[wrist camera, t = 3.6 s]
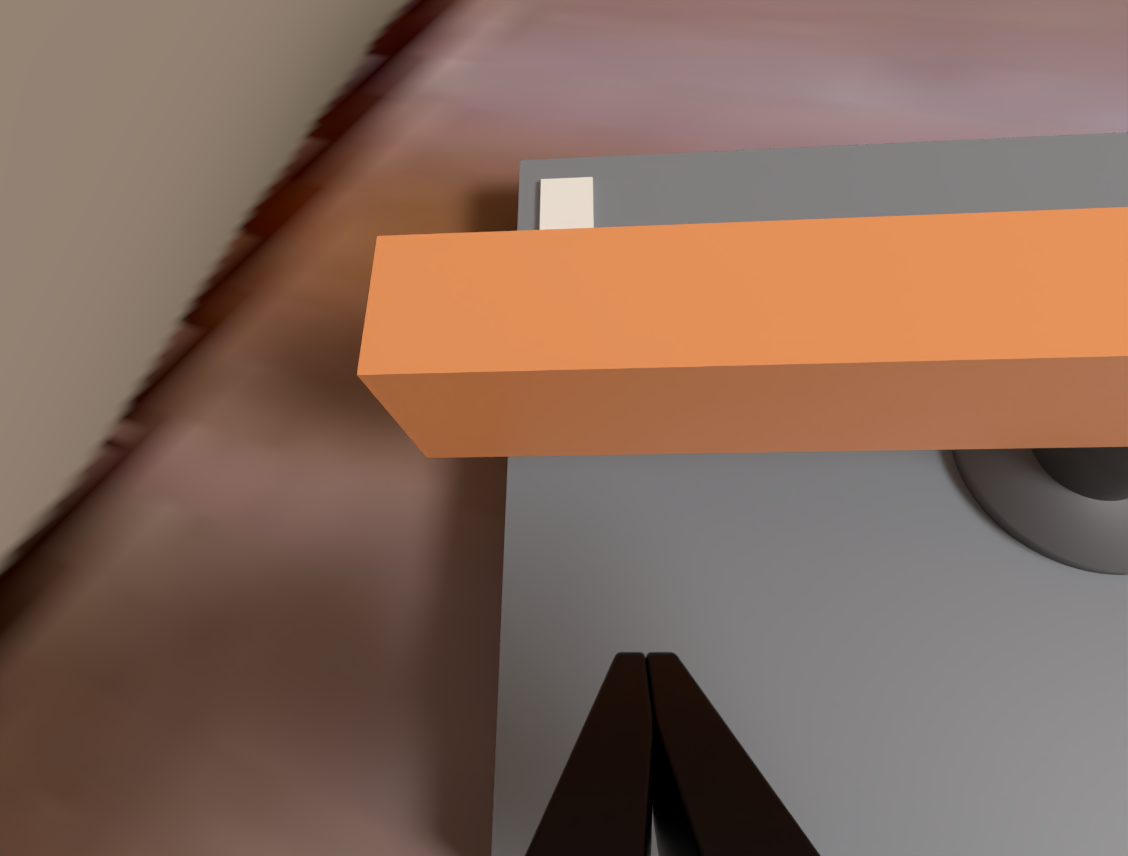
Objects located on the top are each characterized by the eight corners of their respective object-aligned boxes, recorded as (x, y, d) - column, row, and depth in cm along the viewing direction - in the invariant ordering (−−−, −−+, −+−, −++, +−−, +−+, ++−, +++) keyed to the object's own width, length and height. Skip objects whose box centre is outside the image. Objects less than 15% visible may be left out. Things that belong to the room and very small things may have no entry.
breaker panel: (1864, 938, 12) (2199, 1009, 10) (506, 898, 14) (483, 950, 11) (1381, 178, 20) (1498, 104, 17) (529, 213, 21) (518, 150, 19)
